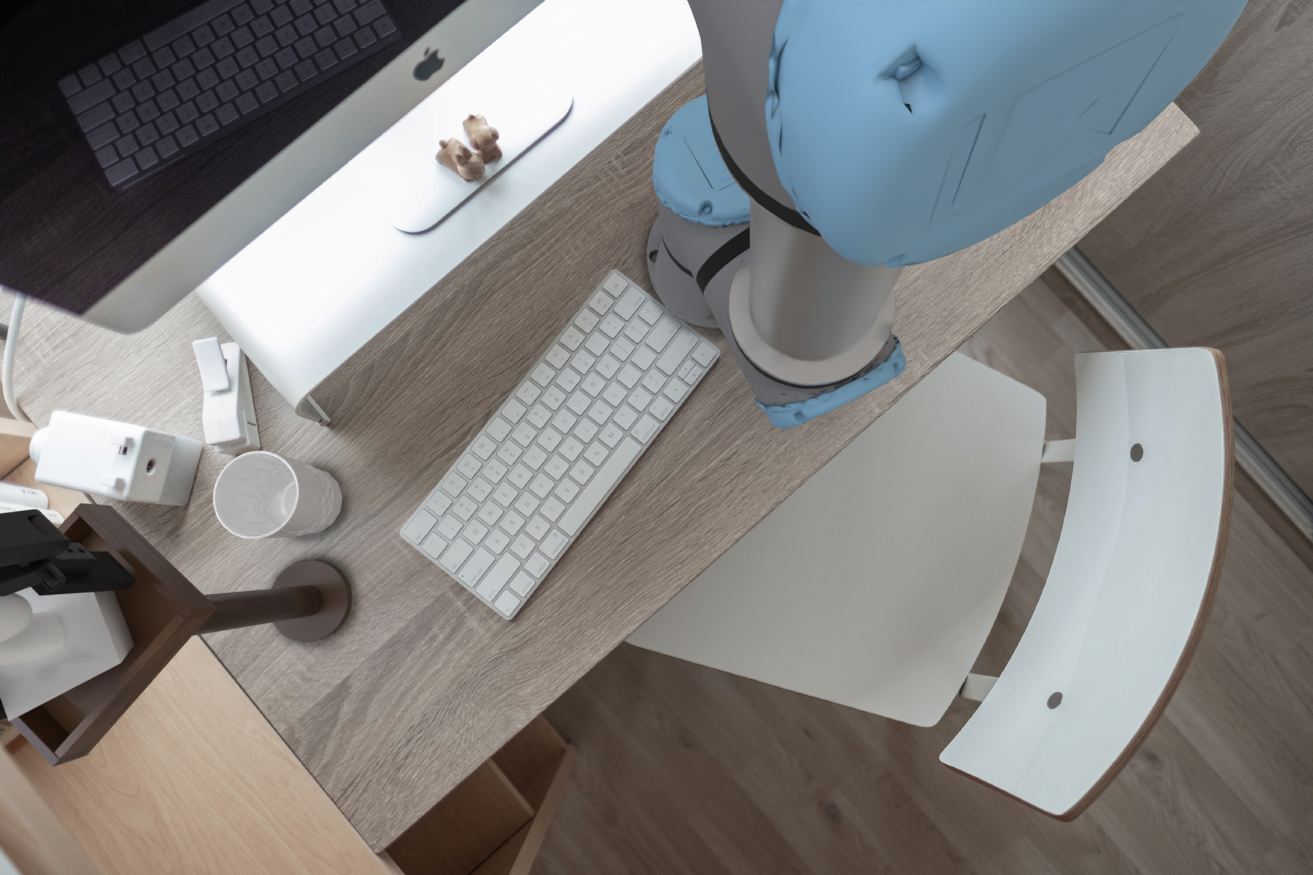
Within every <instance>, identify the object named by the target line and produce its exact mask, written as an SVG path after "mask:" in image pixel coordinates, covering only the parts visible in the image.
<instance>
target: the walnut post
mask: <svg viewBox="0 0 1313 875" xmlns="http://www.w3.org/2000/svg"><path fill="white" fill-rule="evenodd" d="M352 594H353V592H352V589H351V584H350V582H349V580H348V578H347V576H346V575H345V574H344V572H343V571H342V570H341V569H340V568H339V567H337V566H336V565H335V564H333V563H331V562H329V561H326V560H323V559H306V560H301V561H297V562H295V563H293V564H291V565H289V566H287V567H286V568H285V569H284V570H282V571H281V572H280V573H279V575H278V576H277V578H276V579H275V581H274V582H273V584H272V586H271V588H264V589H263V588H262V589H254V590H253V589H252V590H242V591H230V592H219V593H218V592H217V593H207V594H203V595H204V596H206V597H207V598H208V599H209V600H210V601H211V602H212V603H213V604H214V605H215V606H216V607H217V608H216V610H215V611H214V612H213V613H212V614H211V615H210V616H209V618H208V619H207V620H206V621H205V622H204V623H203V624H202V625H201V627H200V628H199V629H198V630H197V631H196V632H195V633H194V635H193V636H192V637H194V636H201V635H206V634H207V635H208V634H213V633H217V632H223V631H230V630H236V629H241V628H248V627H254V626H259V625H265V624H271V623H273V624H274V626H275V628H276V629H277V630H278V631H279V632H280V633H281V634H282V635H283V636H284V637H286V638H288V639H289V640H292V641H295V642H298V643H314V642H318V641H322V640H324V639H327V638H329V637H331V636H332V635H334V634H335V633H336V632H338V631H339V630H340V629H341V628H342V626H343V625H344V624H345V622H346V620H347V619H348V617H349V614H350V612H351V608H352V601H353V595H352Z"/></svg>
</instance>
